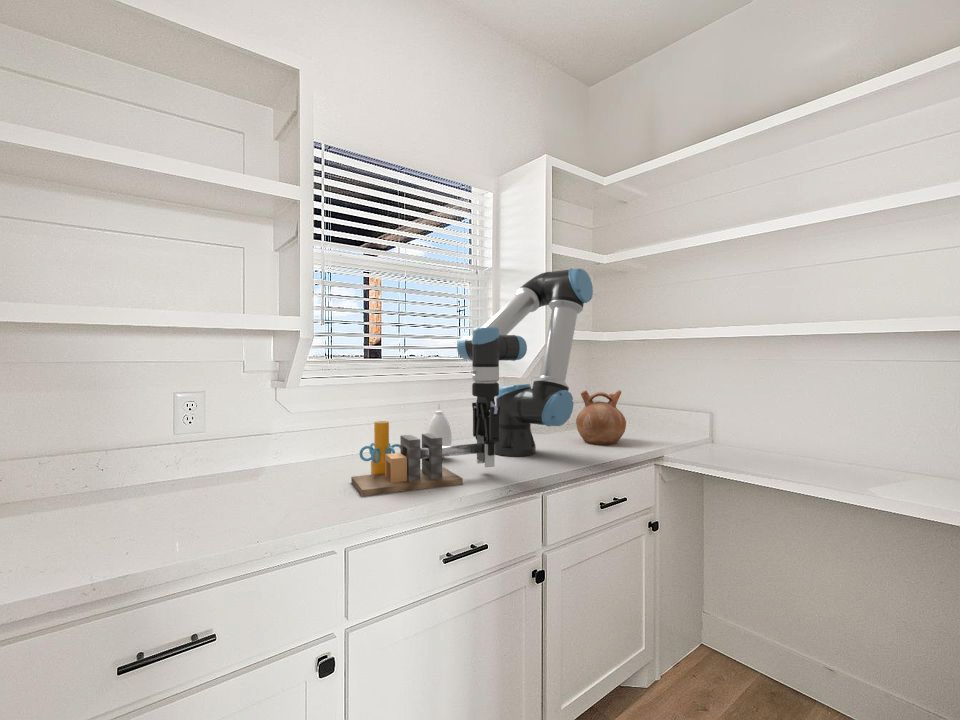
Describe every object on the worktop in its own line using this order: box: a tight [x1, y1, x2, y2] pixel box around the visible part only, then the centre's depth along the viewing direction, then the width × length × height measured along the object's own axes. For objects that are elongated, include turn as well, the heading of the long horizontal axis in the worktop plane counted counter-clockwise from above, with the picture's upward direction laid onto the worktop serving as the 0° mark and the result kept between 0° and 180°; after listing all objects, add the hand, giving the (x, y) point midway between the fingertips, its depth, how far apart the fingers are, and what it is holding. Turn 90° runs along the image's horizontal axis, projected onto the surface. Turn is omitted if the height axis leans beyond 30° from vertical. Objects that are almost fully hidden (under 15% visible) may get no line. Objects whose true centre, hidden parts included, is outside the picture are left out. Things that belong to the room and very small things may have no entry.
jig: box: [350, 433, 464, 497], centre depth 132 cm, size 26×14×12 cm, turn 115°
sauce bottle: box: [426, 403, 453, 459], centre depth 163 cm, size 8×8×18 cm
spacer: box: [385, 452, 407, 482], centre depth 131 cm, size 4×6×6 cm, turn 25°
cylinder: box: [359, 420, 400, 475], centre depth 140 cm, size 12×10×15 cm
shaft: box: [420, 434, 486, 462], centre depth 138 cm, size 22×4×7 cm, turn 115°
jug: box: [575, 390, 627, 446], centre depth 191 cm, size 18×18×20 cm
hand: (485, 464), depth 142 cm, fingers closed on shaft, 4 cm apart
